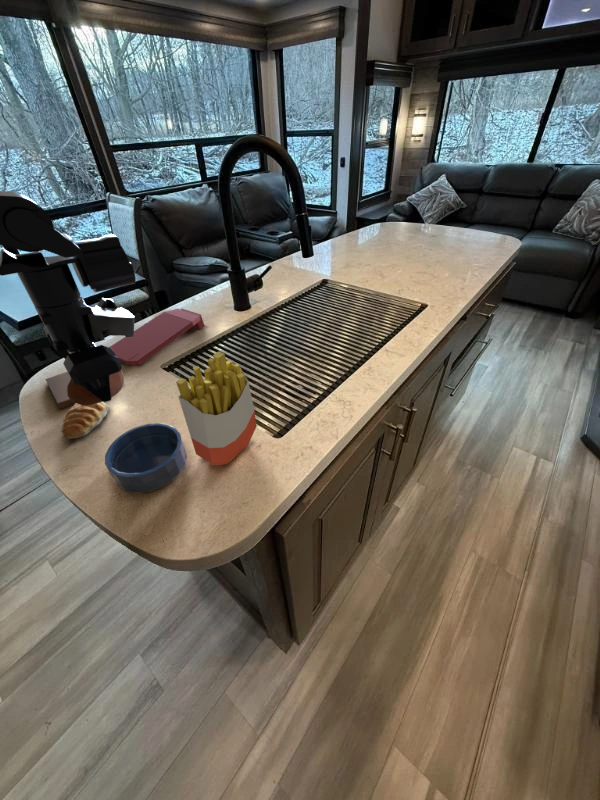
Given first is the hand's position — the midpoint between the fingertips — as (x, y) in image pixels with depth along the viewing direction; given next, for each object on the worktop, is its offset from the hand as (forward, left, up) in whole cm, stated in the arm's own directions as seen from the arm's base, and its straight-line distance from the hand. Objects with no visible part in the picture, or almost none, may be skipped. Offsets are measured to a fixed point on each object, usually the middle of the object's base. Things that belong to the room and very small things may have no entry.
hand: (100, 390), depth 55 cm
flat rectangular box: (-1, +24, -11) cm, 26 cm away
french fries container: (+13, -16, -12) cm, 24 cm away
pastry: (-4, +10, -12) cm, 15 cm away
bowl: (+1, -10, -11) cm, 15 cm away
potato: (0, 0, -2) cm, 2 cm away
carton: (+21, +32, -12) cm, 40 cm away
